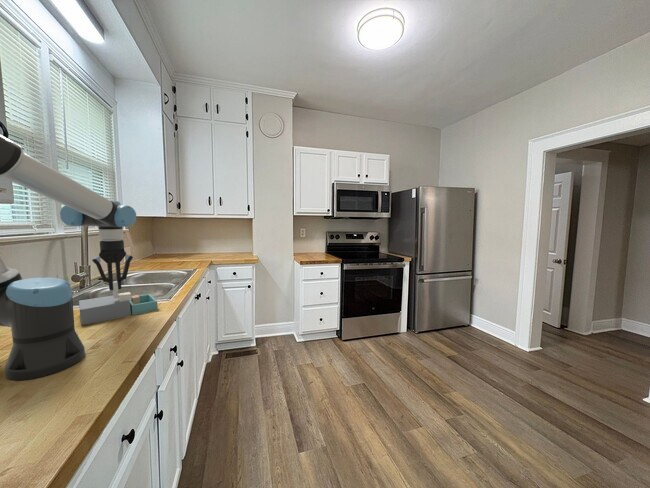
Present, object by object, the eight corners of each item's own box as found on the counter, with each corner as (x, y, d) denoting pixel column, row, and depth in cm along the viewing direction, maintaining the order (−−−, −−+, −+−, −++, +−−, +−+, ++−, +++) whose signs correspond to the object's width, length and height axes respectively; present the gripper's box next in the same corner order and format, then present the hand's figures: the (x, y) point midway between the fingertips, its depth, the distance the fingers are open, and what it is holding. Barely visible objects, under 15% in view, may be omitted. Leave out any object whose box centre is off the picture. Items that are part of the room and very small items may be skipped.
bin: (132, 315, 109) (131, 305, 109) (126, 306, 119) (126, 297, 119) (157, 309, 115) (157, 301, 115) (150, 302, 125) (149, 293, 125)
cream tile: (119, 301, 107) (119, 295, 107) (117, 299, 110) (117, 293, 110) (131, 299, 110) (131, 294, 109) (129, 297, 113) (129, 291, 112)
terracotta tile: (132, 298, 116) (139, 296, 118) (131, 296, 119) (138, 294, 120) (133, 306, 116) (140, 305, 118) (131, 304, 119) (138, 303, 121)
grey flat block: (81, 325, 98) (80, 309, 98) (80, 314, 108) (78, 300, 108) (130, 315, 109) (129, 301, 108) (125, 306, 119) (124, 293, 118)
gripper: (130, 238, 112) (133, 292, 115) (89, 240, 103) (94, 298, 106) (133, 239, 107) (137, 296, 110) (90, 241, 98) (95, 303, 101)
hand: (116, 297), depth 108 cm, fingers closed
